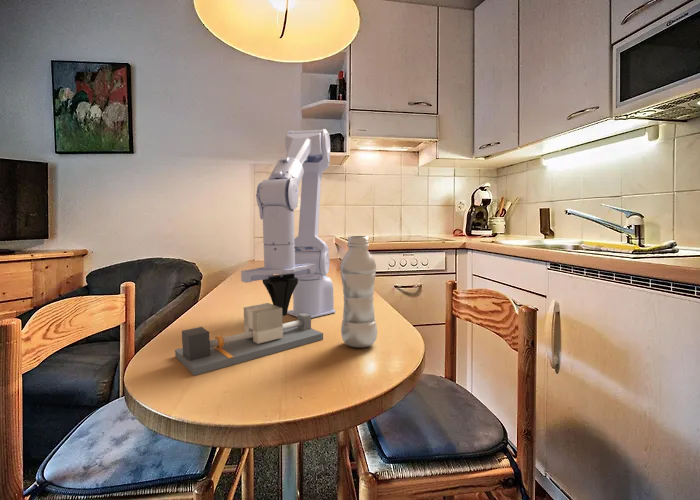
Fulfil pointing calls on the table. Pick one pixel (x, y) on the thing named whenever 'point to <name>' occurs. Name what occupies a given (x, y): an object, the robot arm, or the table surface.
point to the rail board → (239, 346)
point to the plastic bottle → (358, 294)
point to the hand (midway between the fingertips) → (281, 314)
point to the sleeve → (264, 322)
